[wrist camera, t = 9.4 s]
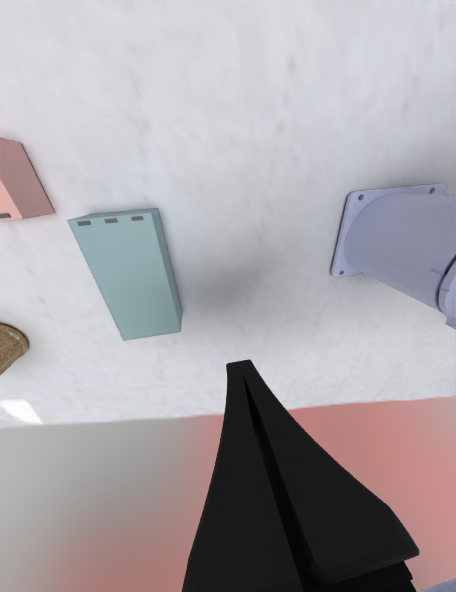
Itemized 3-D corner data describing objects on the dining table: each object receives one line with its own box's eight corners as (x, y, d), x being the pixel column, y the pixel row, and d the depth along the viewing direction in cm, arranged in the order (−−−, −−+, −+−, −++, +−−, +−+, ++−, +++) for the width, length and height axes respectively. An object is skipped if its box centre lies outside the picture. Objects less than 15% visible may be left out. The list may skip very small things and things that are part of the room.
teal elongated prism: (158, 208, 15) (150, 213, 12) (182, 313, 20) (180, 332, 17) (89, 214, 14) (66, 220, 12) (132, 320, 19) (123, 341, 17)
